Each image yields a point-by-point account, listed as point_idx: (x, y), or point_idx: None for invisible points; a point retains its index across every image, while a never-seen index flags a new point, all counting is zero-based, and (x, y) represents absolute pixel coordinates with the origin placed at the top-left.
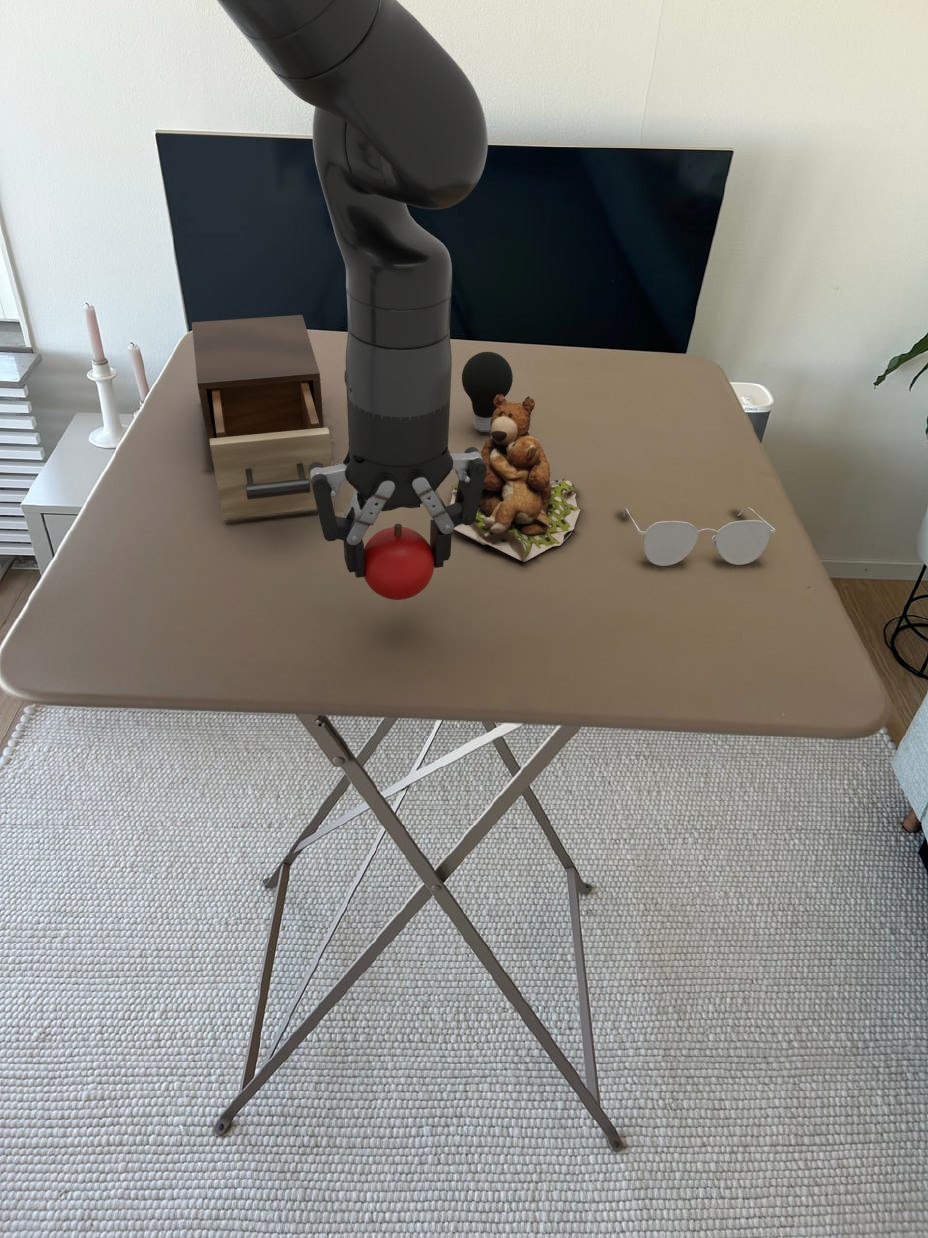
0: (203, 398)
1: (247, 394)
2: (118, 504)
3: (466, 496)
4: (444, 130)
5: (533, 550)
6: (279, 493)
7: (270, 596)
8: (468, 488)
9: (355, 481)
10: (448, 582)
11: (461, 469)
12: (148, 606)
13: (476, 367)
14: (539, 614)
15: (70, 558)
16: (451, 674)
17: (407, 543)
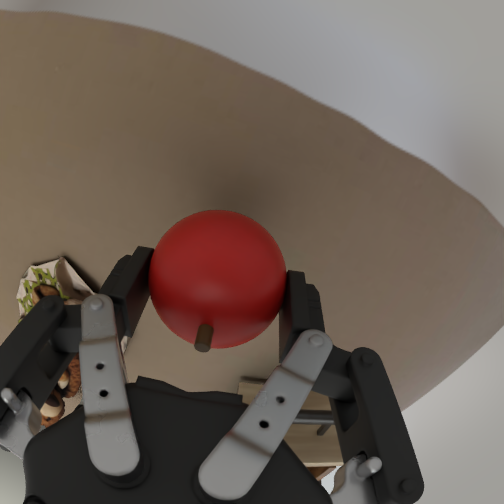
0: (318, 481)
1: None
2: None
3: (26, 355)
4: None
5: (53, 268)
6: (307, 412)
7: (351, 304)
8: (13, 372)
9: (315, 497)
10: None
11: (16, 423)
12: (444, 321)
13: None
14: (60, 176)
15: (450, 372)
16: (192, 105)
17: (192, 302)
